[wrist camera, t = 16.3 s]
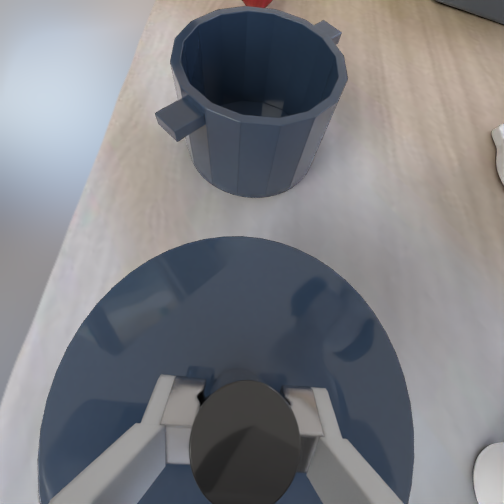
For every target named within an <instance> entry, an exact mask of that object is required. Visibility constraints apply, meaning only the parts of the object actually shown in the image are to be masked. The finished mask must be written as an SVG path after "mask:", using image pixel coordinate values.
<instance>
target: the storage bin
mask: <svg viewBox="0 0 504 504" xmlns="http://www.w3.org/2000/svg"><path fill="white" fill-rule="evenodd" d="M436 1H437V2H440V3H443V4H446V5H449V6H452V7H455V8H458V9H461V10H464V11H467V12H470V13H472V14H475V15H478V16H481V17H484V18H487V19H489V20H492V21H495V22H498V23H501V24H503V25H504V0H436Z"/></svg>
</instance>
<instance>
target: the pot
mask: <svg viewBox="0 0 504 504" xmlns="http://www.w3.org/2000/svg"><path fill="white" fill-rule="evenodd" d="M341 33H342V32H340V31H339V30H337V29H336V28H334V27H333V26H331V25H330V24H329V23H327V22H326V21H324V20H323V21H321V22H319V23H317V24H315V25H312V24H311V23H310V22H308V21H307V20H305V19H302V18H299V17H296V16H294V15H291V14H288V13H285V12H282V11H280V10H276V9H268V8H259V7H250V6H243V7H235V8H227V9H219V10H215V11H213V12H211V13H208V14H206V15H204V16H202V17H199V18H197V19H195V20H193V21H191V22H190V23H189V24H188V25H187V26H186V27H185V28H184V29H183V30H182V31H181V32H180V33H179V35H178V36H177V37H176V38H175V40H174V45H173V50H172V55H171V60H170V64H171V69H172V74H173V79H174V84H175V89H176V94H177V99H178V101H176V102H174V103H172V104H170V105H169V106H167V107H165V108H163V109H161V110H159V111H158V112H156V113H155V115H156V118H157V121H158V124H159V125H160V126H161V127H162V128H163V129H164V130H165V131H166V132H167V133H169V134H170V135H171V136H172V137H173V138H174V139H175V140H176V141H177V142H178V141H180V140H181V139H183V138H184V137H185V138H186V143H187V147H188V150H189V152H190V156H191V159H192V162H193V164H194V166H195V167H196V169H197V170H198V172H199V173H200V174H201V175H202V176H203V177H204V178H205V179H206V180H207V181H208V182H209V183H211V184H212V185H214V186H215V187H217V188H219V189H221V190H223V191H225V192H228V193H230V194H233V195H237V196H242V197H250V198H260V197H269V196H273V195H277V194H280V193H282V192H285V191H287V190H289V189H291V188H292V187H293V186H295V185H296V184H297V183H299V182H300V181H301V180H302V179H303V177H304V176H305V175H306V174H307V172H308V170H309V168H310V165H311V163H312V161H313V158H314V156H315V154H316V152H317V149H318V147H319V145H320V142H321V140H322V138H323V136H324V133H325V131H326V129H327V126H328V124H329V122H330V120H331V117H332V115H333V113H334V110H335V108H336V106H337V103H338V101H339V99H340V97H341V94H342V92H343V90H344V87H345V85H346V83H347V81H348V76H347V70H346V65H345V59H344V55H343V54H342V53H341V51H340V50H339V49H338V47H337V46H336V44H338V42H339V39H340V36H341Z"/></svg>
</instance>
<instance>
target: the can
mask: <svg viewBox="0 0 504 504" xmlns="http://www.w3.org/2000/svg"><path fill="white" fill-rule="evenodd" d="M473 485H474V491H475V495H476V498H477V501H478V504H504V442H499V443H494V444H491V445H489V446H487V447H486V448H485V449H484V450H483V451H482V452H481V453H480V454H479V456H478V457H477V459H476V462H475V465H474V470H473Z"/></svg>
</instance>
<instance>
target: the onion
mask: <svg viewBox="0 0 504 504" xmlns="http://www.w3.org/2000/svg"><path fill="white" fill-rule="evenodd" d="M242 1H243V2H244V3H245V5H246V6H250V7H259V8H265V7H266V6H268V5H269V4H270V3H271V2H272V0H242Z"/></svg>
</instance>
